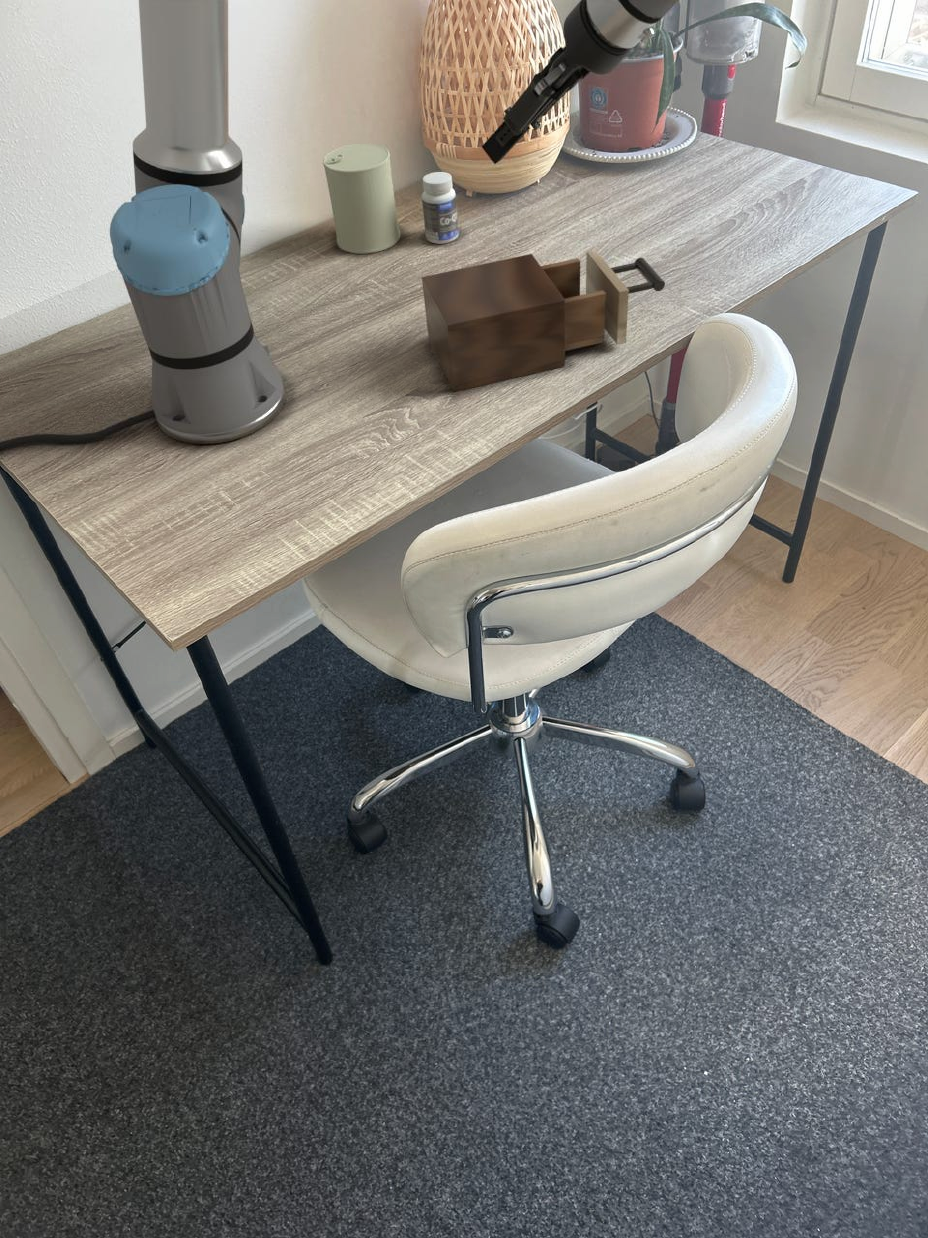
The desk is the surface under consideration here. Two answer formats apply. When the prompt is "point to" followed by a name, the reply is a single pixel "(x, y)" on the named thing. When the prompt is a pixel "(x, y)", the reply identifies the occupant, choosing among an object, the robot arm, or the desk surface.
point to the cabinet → (495, 321)
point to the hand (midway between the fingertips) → (491, 153)
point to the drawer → (597, 298)
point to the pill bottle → (439, 208)
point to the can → (362, 197)
